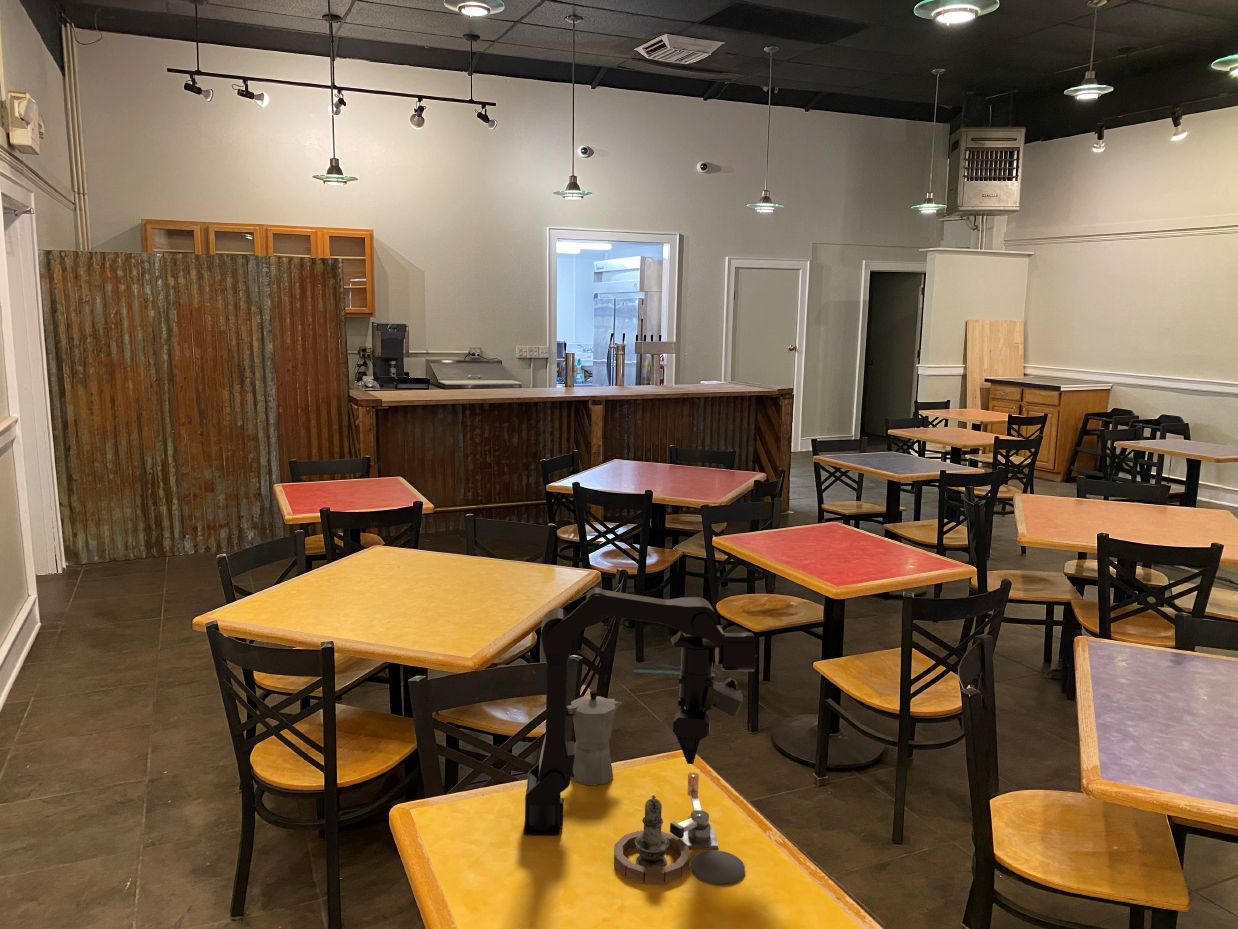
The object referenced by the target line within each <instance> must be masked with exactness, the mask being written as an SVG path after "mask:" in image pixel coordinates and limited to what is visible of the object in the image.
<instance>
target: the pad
mask: <svg viewBox="0 0 1238 929" xmlns="http://www.w3.org/2000/svg"><path fill="white" fill-rule="evenodd" d="M690 870H691V872H692V874H693V875H694V876H695V877H696V878H698V879H699V880H701V881H702V882H704V883H706V884H710V885H717V886H727V885H732V884H735V883H737V882H739V881H741V880H742V879H743V877H744V876H745V873H746V872H745V871H746V867H745V864H744V862H743V861H742V859H741V858H739V857H738V856H736V855H735V854H732V853H730V852H727V851H724V850H717V849H709V850H704V851H701V852H699V853H697V854H695V855H694V856H693V857H692V859H690Z"/></svg>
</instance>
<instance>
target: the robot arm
mask: <svg viewBox="0 0 1238 929" xmlns="http://www.w3.org/2000/svg"><path fill="white" fill-rule="evenodd" d="M601 615H602V616H607V617H608V616H609V617H614V618H621V619H629V620H634V621H640V622H646V623H647V622H648V623H653V624H660V625H665V626H667V627H670V628H672V629H674V630H676V631H678V632H677V633H676V634H675V635H673V636H672V637H671V638H670V640H671V644H672V646H673V648H681V652H680V653H681V654H680V671H679V673H680V675H679V677H678V684H679V694H678V700H677V706H678V707H680V709H679V711H677V712H676V713H675V714H674V718H673V722H672V725H673V726H672V733H674V735H675V737H676V739H677V742H678V743H679V746H680V749H681V751H682V754H683V757H684V759H685V762H686V764H688V765H694V763H695V759H696V756H697V752H698V749H699V744H700V741H701V740H703V739H706V738H708V737H709V736H710V728H711V716H709V714H708V713H707V712H708V711H712V708H713V707H714V708H716V709H718V710H720V711H721V712H724V713H726V714H728V715H729V716H730V717H734V718H735V717H737V715H738V713H739V710H740V709H741V706H742V703H743V702H744V694H743V693H742V690H741V689H738V680H736V679H733V678H731V677H729V678H728V679H726V680H725V681H720V682H718V681H715V673H713V668H714V667H713V666H714V659H715V665H717V666H720V668H721V670H722V671H723V672H755V671H756V668H757V660H758V657H757V656H758V655H757V654H756V652H757V651H756V645H755V644H756V643H755V635H754V633H752V632H750V631H749V632H747V631H746V632H739V633H738V632H737V633H736V632H724V630H723V629H722V627H721V625H718V624H719V623H718V621H719V620H718V615H717V613H716V612H715V610H714V608H713V607H712V605H711V603H710V602H709V601H708V600H707V599H705V598H703V597H700V596H699V597H698V596H695V597H693V596H690V597H683V596H682V597H679V598H678V597H677V598H671V599H663V598H657V597H651V596H644V595H638V594H631V593H624V592H619V591H613V590H608V589H607V590H605V589H604V588H601V587H593V588H591V589H590V590H588V591H586V592H585V593H584V594H583V595H581V596H578V597H577V598H575V599H573V600H570V601H568V603H567V602H566V604H565V605H563V606H561V607H559V608H552V609H550V610H548V611H547V612H546V613H544V615H543V617H542V621H541V632H540V636H541V642H542V643H541V644H542V649H543V650H542V651H543V655H544V659H545V665H546V694H545V695H546V696H545V698H546V699H545V700H546V702H545V734H544V739H543V742H542V744H541V745H542V746H541V752H540V755H539V761H538V762H537V763H536V764H535V765H534V766H533V767H532V768H531V769H530V770H529V771H528V773H527V781H526V783H527V784H526V790H525V796H524V797H525V798H524V825H523V830H522V831H523V832H522V833H523V835H527V836H530V835H534V836H536V835H537V836H538V835H539V836H548V835H549V836H555V835H556V836H560V833H561V827H563V825H564V809H565V808H564V805H565V802H564V800H565V798H564V797H561V793H562V792H564V791H565V790H567V789H568V788H569V787H570V784H571V781H572V779H571V777H572V778H574V777H575V772H574V758H575V741H573V740H571V741H572V742H567V741H568V740H567V736H566V729H567V728H566V724H567V723H566V722H567V716H566V706H567V682H568V681H567V680H568V679H567V678H568V677H567V676H568V665H569V661H570V656H571V652H572V648H573V643H574V638H575V637H576V636H577V635H579V634H580V633H582V631H583V632H584V630H586V628H587V627H588V626H590V624H591V623H592V622H594V620H596V619H598V618H599V617H600V616H601ZM714 651H715V652H714Z"/></svg>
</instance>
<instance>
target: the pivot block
mask: <svg viewBox="0 0 1238 929" xmlns="http://www.w3.org/2000/svg"><path fill="white" fill-rule="evenodd" d="M715 832H716V831H715V828H714V826H711V824H710V823H709V826H708V827H707V828H705V829H696V828H692V829H690V830H688V831H686V832H684V837H683V838H681V840H682V841H683V842H684V843H686V844H687V846H688V849H691V850H692V849H696V850H697V849H700V850H701V849H702V850H703V849H704V850H705V849H706V850H708V849H709V850H717V849H718V850H719V842H718V839H717V835H716V833H715Z"/></svg>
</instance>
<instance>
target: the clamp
mask: <svg viewBox="0 0 1238 929" xmlns="http://www.w3.org/2000/svg"><path fill="white" fill-rule="evenodd" d="M699 776H700V775H699V773H698V772H689V773H688V775H687V795H688V796H689V797H690V802H691V807H692V809H693V811H691V813H690V818H688V819H686V820H684V821H681V822H679V823H677V822H676V821H673V820H672V821H671V822H670V823H669V824H670V825H669V834H672V835H675V837H676V836H677V837H678V838H679V839H681V840H682V838H683V837H684V832H686V831H688V830H690V829H692V828H696V829H705V828H707V827H708V826H709V824H710V820H709V819H710V814H709V812H707V811H704V810H702V807H701V803H700V800H699V780H700V777H699Z"/></svg>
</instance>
